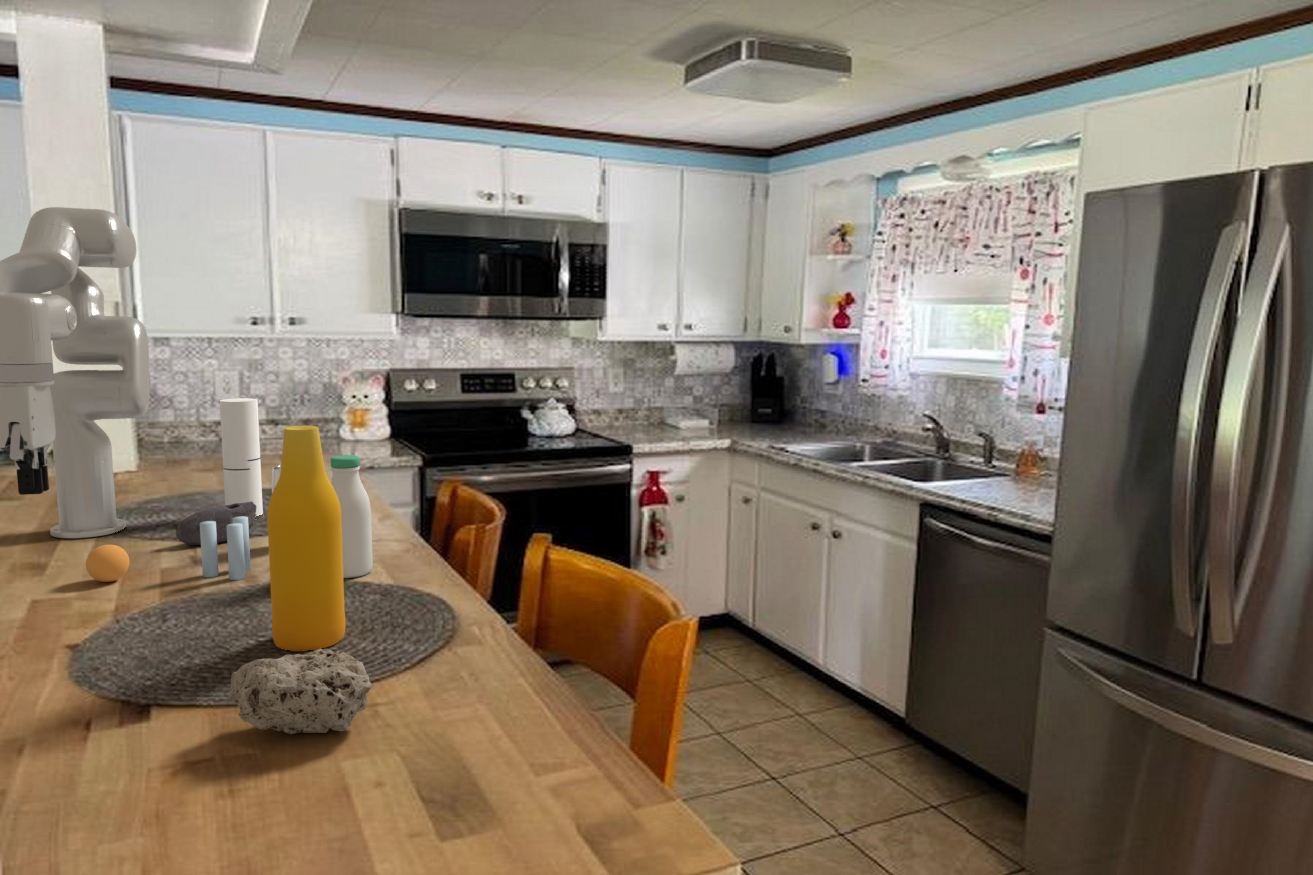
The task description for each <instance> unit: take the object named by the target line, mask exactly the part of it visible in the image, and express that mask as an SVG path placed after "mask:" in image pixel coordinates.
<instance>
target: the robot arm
mask: <svg viewBox="0 0 1313 875" xmlns="http://www.w3.org/2000/svg"><path fill="white" fill-rule="evenodd" d="M136 256H137V243H136V238H135V236H134V233H133V232H132V229H131V228H130V227H129V225H127V224H126V222H125V221H124V220H123V219H122V218H121V217H120V216H119V215H117V214H116V213H113V212H112V211H109V210H106V209H96V208H93V209H92V208H77V207H63V206H62V207H61V206H59V207H57V206H55V207H45V208H41V209H38V210H37V211H36V212H34V213H33V214H32V216H31V218H30V219H29V222H28V224H27V227H26V231H25V234H24V236H23V240H22V244H21V246H20V250H19V252H17V253H14V254H12V255H9V256H8V257H5V258H3V259H1V260H0V451H1V452H4V451H9V458H10V460H13V461H14V467H15V470H16V478H17V479H16V480H17V489H18V490H17V492H18V494H19V495H21V496H23V495H24V496H25V495H27V496H28V495H41V494H43V493H44V492H47V491H49V489H50V485H49V484H50V483H49V481H50V480H49V472H48V470H49V468H48V464H49V463H48V462H49V461H48V460H49V459H48V450H49V448H50V446H51V444H52V452H53V453H52V454H53V464H54V476H55V477H54V478H55V485H56V487H55V489H56V499H57V511H58V513H57V514H58V524H56V525H54V526H52V527H51V528H50V529H49V533H50V536H52V537H54V538H60V539H86V538H94V537H101V536H108V535H111V534H115V532H116V533H118V531H119V532H121V531H123V530H124V528H125V527H127V521H126V520H124V519H121V518H117V508H116V507H117V506H116V495H115V494H116V493H115V481H114V480H115V478H114V477H115V476H114V465H113V453H112V452H113V449H112V441H111V439H110V437H109V435H108V434H107V433H106V432H105V431H104V430H103V429H102V428H101V427H100V426H99V425H98V424H97V422H95V421H96V420H97V421H99V420H119V419H121V420H123V419H137V418H141V417H143V416H145V415H146V414H147V412H148V411H149V407H150V400H151V398H150V397H151V395H150V392H151V387H150V356H149V355H150V353H149V351H150V349H149V338H148V337H149V336H148V334H147V329H146V327H145V325H144V324H143V322H141V320H139V319H137V318H135V317H131V316H122V315H121V316H120V315H119V316H116V315H115V316H114V315H112V316H111V315H105V303H104V302H105V300H104V299H105V297H104V292H103V291H102V289H101V288H100V286H99V285H98V284H97V283H96V282H95V280H94V279H92V277H90V276H89V275H88V274H87V273H86V272H84V271H83V270H82V269H81V268H82V267H84V268H108V269H111V268H112V269H121V268H122V269H125V268H128V267H130V266H131V265H132V264H133V263H134V261H135V259H136ZM80 267H81V268H80ZM47 292H50V293H47ZM53 353H54V356H55V358H56V359H57V360H58V361H59V362H62V363H63V364H64V363H65V364H67V365H68V364H69V365H79V366H81V365H82V366H84V365H85V366H87V365H88V366H92V365H93V366H99V365H101V366H103V365H106V366H107V365H108V366H111V365H113V366H114V365H115V366H116V365H117V366H120V367H121V368H122V369H112V370H111V369H109V370H108V369H107V370H106V369H103V370H102V369H101V370H100V369H72V370H71V369H69V370H64V371H58V372H54V362H53ZM122 529H123V530H122ZM125 529H126V528H125ZM120 530H121V531H120Z"/></svg>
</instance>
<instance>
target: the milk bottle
mask: <svg viewBox="0 0 1313 875" xmlns="http://www.w3.org/2000/svg"><path fill="white" fill-rule="evenodd" d="M360 465H361V460H360V456H358V455H354V454H342V455H333V456H332V457H330V467H331V468H330V470H331V471H332V477H331V480H330V482H331V484H332V486H333V488H334V490H335V492H336V494H337V496H338V499H339V502H340V507H341V523H342V553H343V579H351V578H357V577H363V576H365V575H368V574H370V573H371V572H372V570H373V565H374V564H373V537H372V536H373V535H372V534H373V533H372V513H371V502H370V497H369V495H368V493H367V491H366V489H365V487H364V485H363V483H362V480H361V477H360V474H359V472H360V469H361V467H360Z"/></svg>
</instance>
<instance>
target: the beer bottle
mask: <svg viewBox="0 0 1313 875" xmlns="http://www.w3.org/2000/svg"><path fill="white" fill-rule="evenodd" d="M280 465H281V472H280V477H279V480H278V482H277V484H276V486H275V488H274V491H273V493H272V492H271V496H270V498H269V502H268V505H267V515H266V516H267V518H266V520H267V521H266V522H267V524H266V525H267V532H268V533H267V537H268V539H267V540H268V541H267V542H268V558H269V560H268V561H269V578H270V579H269V580H270V598H271V599H270V600H271V601H270V602H271V635H272V640H273V643H274V644H275V646H276V647H277V648H278V649H280V648H281V650H283V649H284V650H283V651H287V650H290V651H289V652H309V651H308V650H313V651H315V650H318V649H322V648H323V649H327V648H329V647H332V646H333V645H336V644H338V643H339V642H341V640H343V638H344V637H345V632H346V625H347V624H346V613H345V612H346V611H345V591H344V590H345V587H344V586H345V585H344V578H343V553H342V523H341V507H340V502H339V499H338V496H337V494H336V492H335V490H334V488H333V486H332V484H331V480H330V479H329V477H328V474H327V472H326V467H325V463H324V456H323V449H322V443H321V435H320V430H319V427H318V426H315V425H293V426H287V427H284V428H283V438H282V451H281V464H280ZM323 649H322V650H323Z"/></svg>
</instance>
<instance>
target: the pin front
mask: <svg viewBox="0 0 1313 875" xmlns="http://www.w3.org/2000/svg"><path fill="white" fill-rule="evenodd" d="M200 538H201V545H200V554H201V555H200V556H201V567H202V570H201V571H202V577H203V578H205V577H206V578H209V577H210V578H215V577H218V576H219V575H220V573H219V555H218V553H219V552H218V543H217V533H216V522H215V521H205V522H201V523H200Z"/></svg>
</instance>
